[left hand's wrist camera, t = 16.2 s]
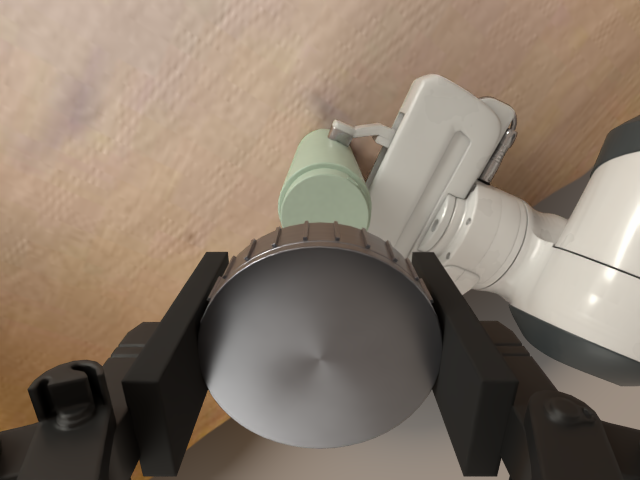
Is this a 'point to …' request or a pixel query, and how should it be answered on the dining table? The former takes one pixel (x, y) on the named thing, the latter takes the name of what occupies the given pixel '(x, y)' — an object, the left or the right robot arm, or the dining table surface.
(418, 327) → the lid
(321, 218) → the jar
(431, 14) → the dining table surface
